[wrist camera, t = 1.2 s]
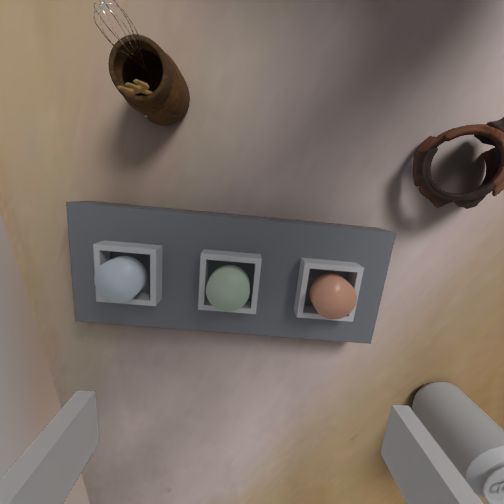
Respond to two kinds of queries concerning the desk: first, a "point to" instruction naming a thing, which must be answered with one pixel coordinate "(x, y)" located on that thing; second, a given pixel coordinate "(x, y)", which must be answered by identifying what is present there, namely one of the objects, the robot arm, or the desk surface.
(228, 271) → the sage button
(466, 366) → the desk surface
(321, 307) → the terracotta button
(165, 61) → the utensil holder
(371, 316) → the console
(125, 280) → the pale blue button
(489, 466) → the can
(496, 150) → the dark brown curved piece
